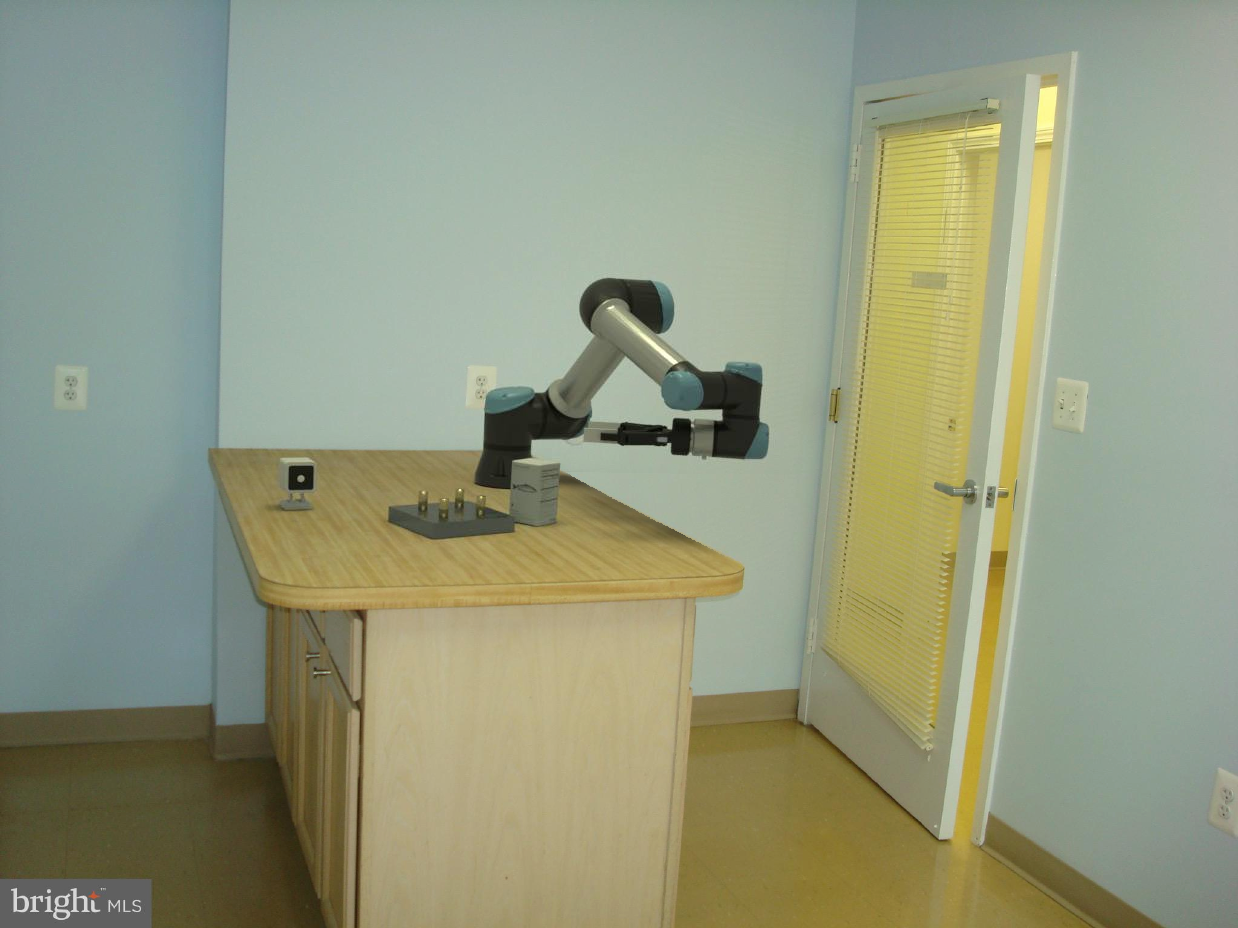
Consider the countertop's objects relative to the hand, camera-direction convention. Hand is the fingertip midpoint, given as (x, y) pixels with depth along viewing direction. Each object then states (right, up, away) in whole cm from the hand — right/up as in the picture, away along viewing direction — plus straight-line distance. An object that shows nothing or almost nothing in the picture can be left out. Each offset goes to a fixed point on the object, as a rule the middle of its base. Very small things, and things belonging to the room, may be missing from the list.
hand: (585, 431), depth 233 cm
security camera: (-59, -16, +3) cm, 61 cm away
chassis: (-26, -19, -6) cm, 33 cm away
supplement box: (-11, -19, +3) cm, 22 cm away
